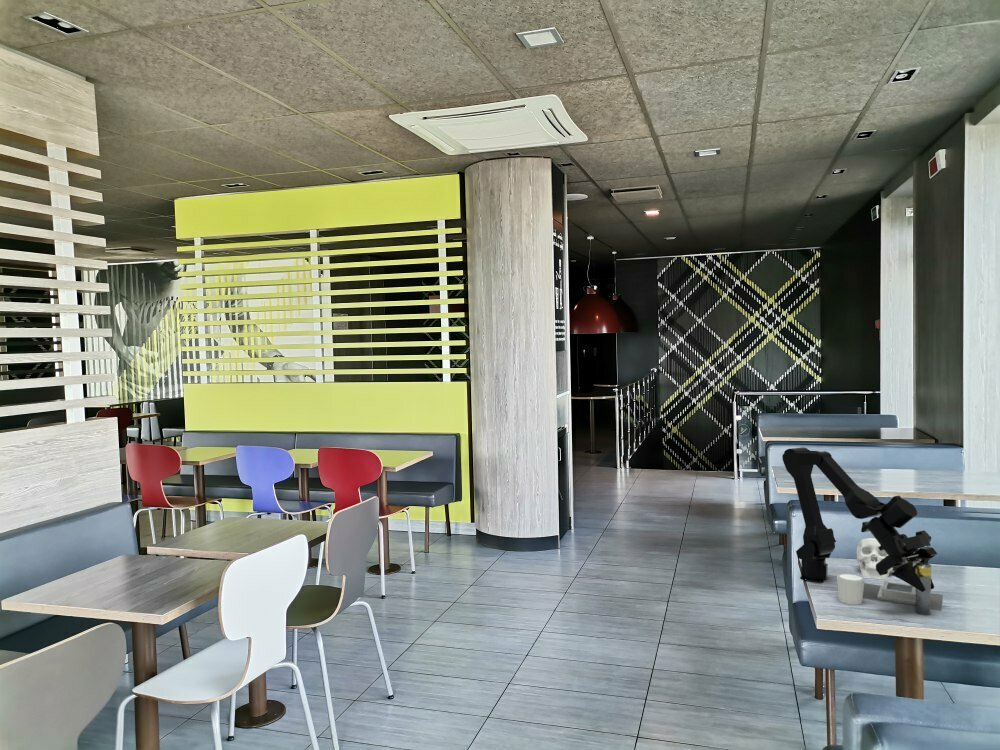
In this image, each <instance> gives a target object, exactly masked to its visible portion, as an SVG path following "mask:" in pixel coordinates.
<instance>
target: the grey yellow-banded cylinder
mask: <svg viewBox="0 0 1000 750" xmlns="http://www.w3.org/2000/svg"><path fill="white" fill-rule="evenodd" d="M916 575H917V576H918V578H919V579H920V581H921V582H922V584H923V586H924V587H925V589H926V590H925V591H924V592H921V591H920V590H918V589H916V598H915V614H918V615H922V616H931V613H932V612H931V610H932V609H931V593H932V591H931V590H932V589H931V579H932V564H930V563H929V562H928V563H916Z"/></svg>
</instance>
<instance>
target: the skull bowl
mask: <svg viewBox="0 0 1000 750" xmlns="http://www.w3.org/2000/svg"><path fill="white" fill-rule="evenodd" d="M880 546H881V545H880V544H879V542H878V541H877V540H876V539H875V537H867V538H864V539H861V540H860V541H859V543H858V544H857V547H856V560H857V564H858V566H859V569H860V573H861V575H863V577H865V578H869V579H873V580H884V579H887V578H889V576H890V574H891V572H892V571H893V568H890V569H889V570H888V573H887V574H885V575H881V576H880V575H879V573H878V572H877V571H876V564H877V563H878V562H880V561H881V560H882V559H884V558H885V557H886V556H888V554H887V553H886V552H885V550H882V551H880V549H879V548H878V547H880Z"/></svg>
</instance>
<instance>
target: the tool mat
mask: <svg viewBox="0 0 1000 750" xmlns="http://www.w3.org/2000/svg"><path fill="white" fill-rule="evenodd" d="M881 586H882V585H880V584H879V585H878V584H873V583H865V582H864V590H863V599H866V600H873V601H878V602H884V603H892V604H898V605H903V606H909V607H910V606H911V607H915V605H910V604H904V603H898V602H892V601H885V600H879V599H877V595H878V593H879V590H880V587H881ZM943 599H944V598H943V594H938V593H933V592H931V610H935V611H940V612H941V611H942V607H943Z"/></svg>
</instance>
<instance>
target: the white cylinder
mask: <svg viewBox="0 0 1000 750" xmlns="http://www.w3.org/2000/svg"><path fill="white" fill-rule="evenodd" d="M865 578H866V577H865V576H861V575H858V574H855V573H839V574H837V575H836V581H837V593H838V601H839V602H841V603H843V604H847V605H854V606H855V605H861V604H863V599H864V598H863V590H864V583H865V581H866V580H865Z"/></svg>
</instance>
